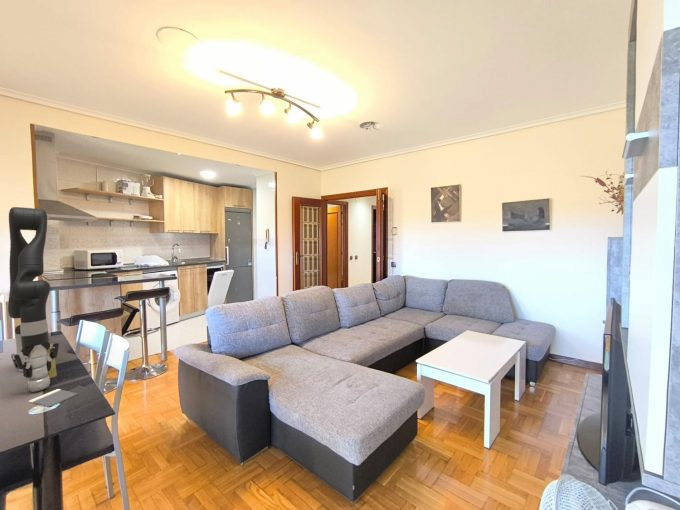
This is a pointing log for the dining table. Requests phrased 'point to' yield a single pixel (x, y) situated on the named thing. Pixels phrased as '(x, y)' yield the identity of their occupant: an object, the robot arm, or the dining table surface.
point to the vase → (52, 367)
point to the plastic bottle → (38, 369)
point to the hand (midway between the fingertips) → (38, 373)
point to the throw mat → (53, 397)
